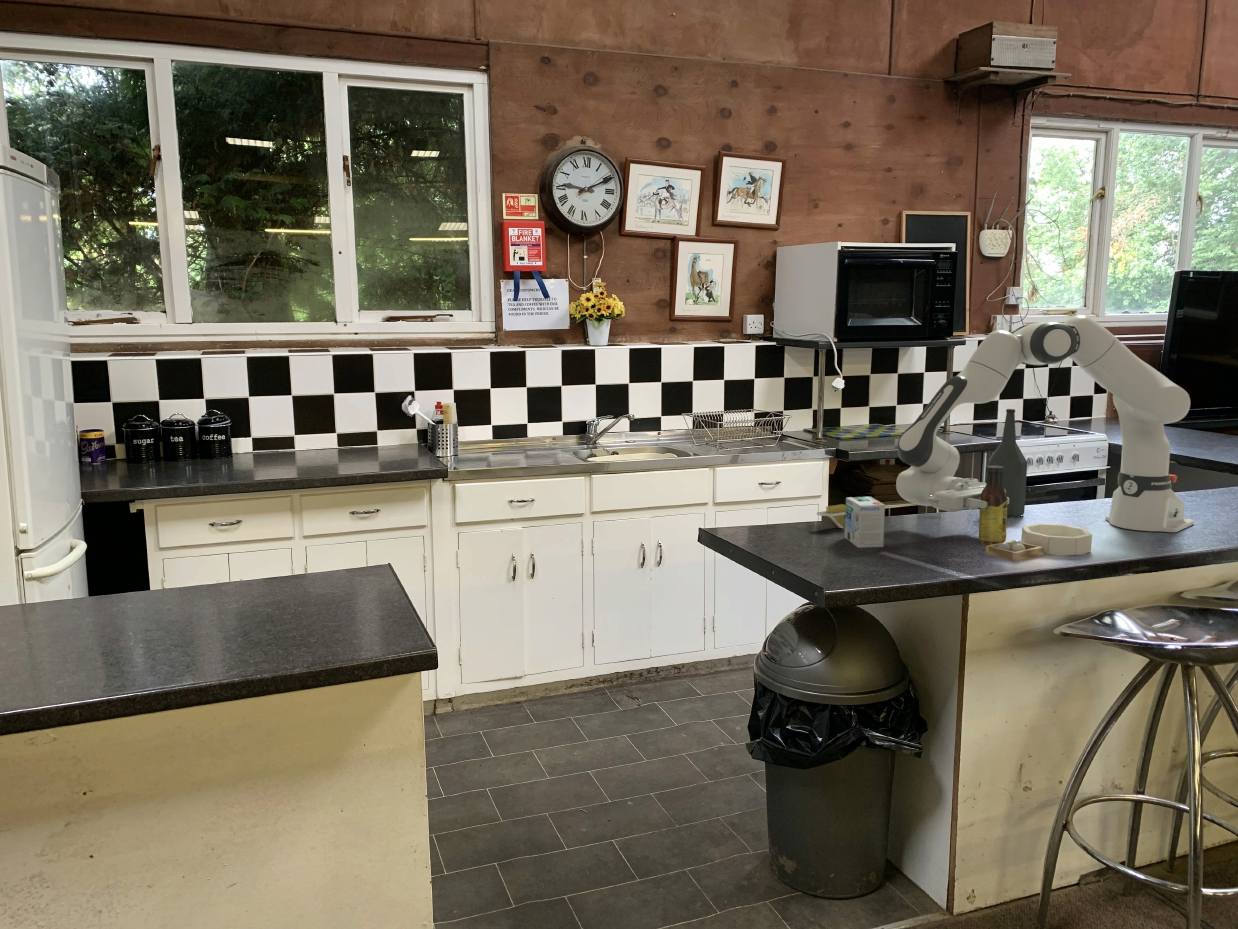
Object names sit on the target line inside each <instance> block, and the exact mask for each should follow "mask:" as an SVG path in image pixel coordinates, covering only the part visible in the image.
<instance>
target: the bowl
mask: <svg viewBox="0 0 1238 929" xmlns="http://www.w3.org/2000/svg"><path fill="white" fill-rule="evenodd" d="M1092 538H1093V534H1092V533H1091V532H1090V530H1088V529H1086V528H1083V527H1078V526H1073V525H1068V524H1060V523H1034V524H1027V525H1023V526H1022V527H1021V540H1020V541H1021V542H1023V543H1028V544H1032V545H1036V546H1040V547H1043V555H1052V556H1054V555H1055V556H1081V555H1086V554H1088V553H1090V552H1092V540H1093V539H1092Z"/></svg>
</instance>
